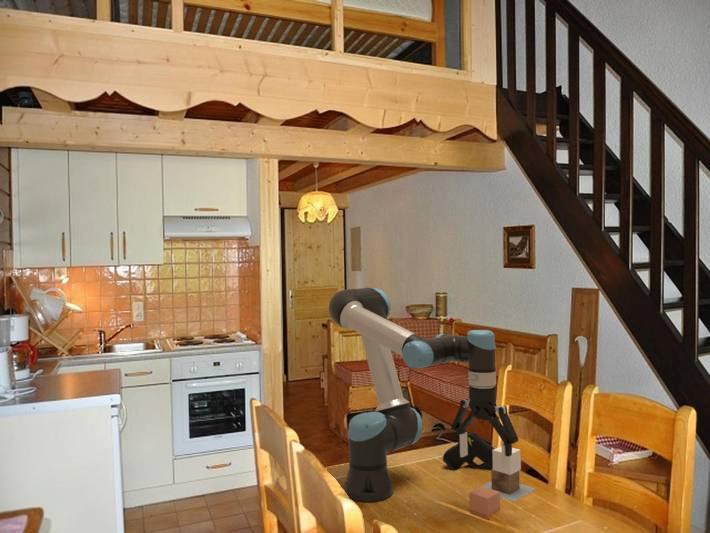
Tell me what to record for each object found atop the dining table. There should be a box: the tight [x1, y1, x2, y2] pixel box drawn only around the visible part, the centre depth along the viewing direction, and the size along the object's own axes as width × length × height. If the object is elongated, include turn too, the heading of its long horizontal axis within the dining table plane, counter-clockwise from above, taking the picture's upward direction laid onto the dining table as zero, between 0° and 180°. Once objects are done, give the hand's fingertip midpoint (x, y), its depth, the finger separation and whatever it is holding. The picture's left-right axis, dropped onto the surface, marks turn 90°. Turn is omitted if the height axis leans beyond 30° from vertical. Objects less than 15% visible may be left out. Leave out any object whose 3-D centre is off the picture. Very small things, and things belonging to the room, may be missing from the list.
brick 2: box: [490, 469, 521, 495], centre depth 167 cm, size 6×6×6 cm
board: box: [482, 480, 536, 503], centre depth 167 cm, size 13×13×1 cm
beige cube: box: [492, 446, 522, 475], centre depth 167 cm, size 6×6×6 cm
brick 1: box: [468, 485, 501, 521], centre depth 154 cm, size 6×6×6 cm
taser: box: [442, 431, 496, 471], centre depth 186 cm, size 4×18×15 cm
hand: (484, 461), depth 154 cm, fingers open, 13 cm apart
